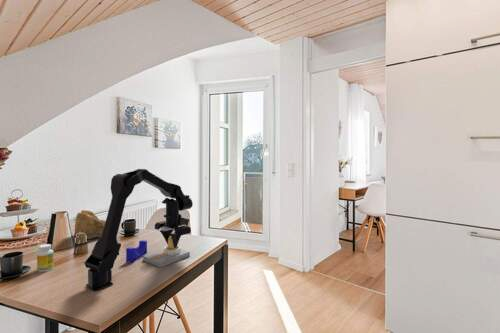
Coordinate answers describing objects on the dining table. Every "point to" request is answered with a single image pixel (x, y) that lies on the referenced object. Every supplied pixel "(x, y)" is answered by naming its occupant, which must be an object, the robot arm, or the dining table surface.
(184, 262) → the dining table surface
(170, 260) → the plate
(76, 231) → the rough brown rock
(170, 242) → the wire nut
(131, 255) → the cable clip
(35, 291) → the dining table surface
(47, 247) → the supplement bottle
